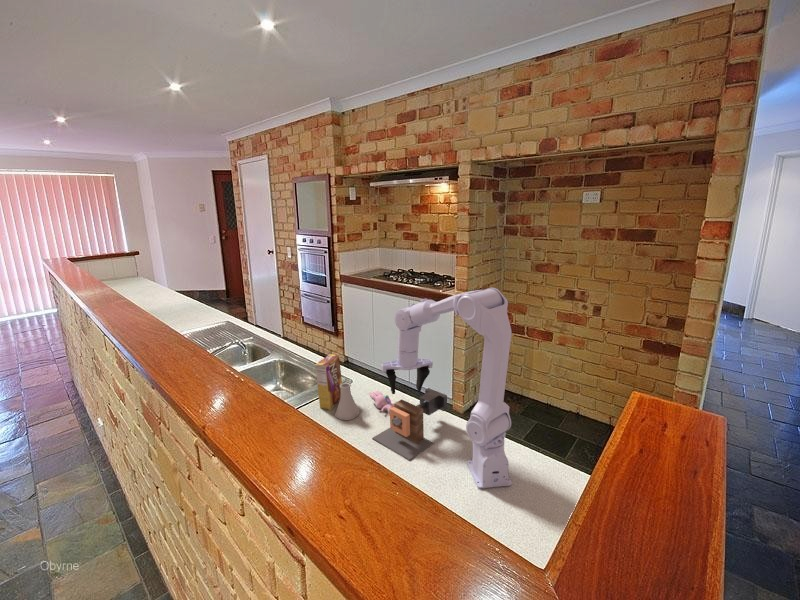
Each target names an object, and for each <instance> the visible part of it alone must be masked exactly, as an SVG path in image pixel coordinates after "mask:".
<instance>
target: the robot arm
mask: <svg viewBox="0 0 800 600" xmlns="http://www.w3.org/2000/svg"><path fill="white" fill-rule="evenodd" d="M419 301H420V302H418V303H411V304H409V306H408V307H404V308H399V309H397V310H396V311H395V313H394V317H393V319H394V323H395V325H396V327H397V330H398V332H397V333H398V334H397V336H398V337H397V357H396V359H393V360H391V361H390V360H389V361H386V362H381V365H380V368H381V369H380V370H381V372H382V373H385V374H386V376H387V379H388V382H389V386H390V392H391V394H392V395H396V382H397V375H396V371H398V370H399V371H400V370H401V371H413V370H415V369H416V383H415V385H416V389H417V391H418V392H421V391H422V389H423V388H422V387H423V384H424V383H425V381H426V379H427V378H428V376H429V375H430V371H431V370H430V369H432V368H433V364H434V363H433V361H432V359H431V358H419V357H418V356H419V342H420V332H421V331H422V326H423V325H427V324H430V323H434V322H437V321H438V320H439V318H440V317H441V315H442V314H443V315H444V314H446V313H450V312H454V313H455V315H456V316H459V317H460V318H461V320H462V321H463V322H465V324H467V325H468V326H469V327H470V328H471V329H473V330H474V331H475V332H476V333H477V334H479V335H482V337H483V339H484V341H483V352H482V360H481V369H480V370H481V371H480V381H479V382H480V383H479V391H478V401H477V403H475V405H474V407H473V408H472V410H471V412H470V418H469V419H468V420H467V422H466V425H465V429H466V433H467V435H468V438H469V439H470V441H471V442H472V459H469V460H467V465H468V468H469V470H470V472H471V475H472V477H473V480H474V482H475V485H476V487H477V489H486V488H488V489H489V488H497V487H499V488H500V487H507V486H512V485H513V483H512V480H511V478H510V476H509V467H510V466H509V460H508V457H507V454H506V452H505V437H506V435H507V434H506V433H507V432H508V431H510V429H511V426H512V419H511V416H510V409H511V408H510V406H509V405H508V404H507V403H506V402H505V400H504V398H505V392H506V391H505V389H506V382H507V376H508V375H507V374H508V367H509V358H510V357H509V356H510V349H511V341H512V327H511V324H510V319H509V315H508V305H509V301H508V299H507V298H506V297H505V295H504V294H503V293H502V292H501V291H500V290H499V289H498V288H495V287H488V288H486V289H477V290H470V291H466V292H461V293H456V294H454V295H451V296H449V297H446V298H444V299H441V300H439V301H436V300H434V299H428V298H423V299H420V300H419Z"/></svg>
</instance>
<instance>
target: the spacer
mask: <svg viewBox="0 0 800 600" xmlns="http://www.w3.org/2000/svg"><path fill="white" fill-rule="evenodd" d="M396 417H398V418H400V419H402V426H401V425H397V426H394V425H393V424H392V419H394V418H396ZM389 426H390V427H389V428H390V429H392V430H394V431H396V432H398V433H399V434H401V435H403V436H405V437H407V436H409V435H410V414H408V413H406V412H404V411H401V410H399V409H397V408H395V407H392V408H390V416H389Z"/></svg>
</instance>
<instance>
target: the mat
mask: <svg viewBox="0 0 800 600" xmlns="http://www.w3.org/2000/svg"><path fill="white" fill-rule="evenodd" d="M371 439H372V440H373V441H375V442H377V443H378V444H380V445H381V446H384V447H385V448H387V449H388V450H390V451H392V452H394V453H395V454H397V455H398V456H400V457H402V458H403V459H405V460H407V461H411V460H412V459H414V458H416V457H417V456H418V455H420V454H421V453H423V452H424V451H425V450H427V449H428V448H430V447H431V446H433V445H434V442H433V441H431V440H429V439H427V438H425V437H424V439H423V440H422V441H420V442H419V443H417V444H415V443H413V442H412V441H410V440H408V439H406V438H404V437H402V436H401V435H399V434H397V433H395V431H394V430H392V429H390V427H388V428H386V429H385V430H384V431H382V432H379V433H377V434H376V435H375V436H373V437H372V438H371Z"/></svg>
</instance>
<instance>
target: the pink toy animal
mask: <svg viewBox="0 0 800 600" xmlns="http://www.w3.org/2000/svg"><path fill="white" fill-rule="evenodd" d="M368 395H369V397H370V398H371V400H373V401H374V403H375V406H376V408H377V409H381V412H384V410H386V411H387V414H388V416H389V417H390V408H392V407H394V403H392V401H391V399H390V396H389V395H388V394H386V395H384V394H383V393H382V392H381V391H378V390H375V391H372V392H368Z"/></svg>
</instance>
